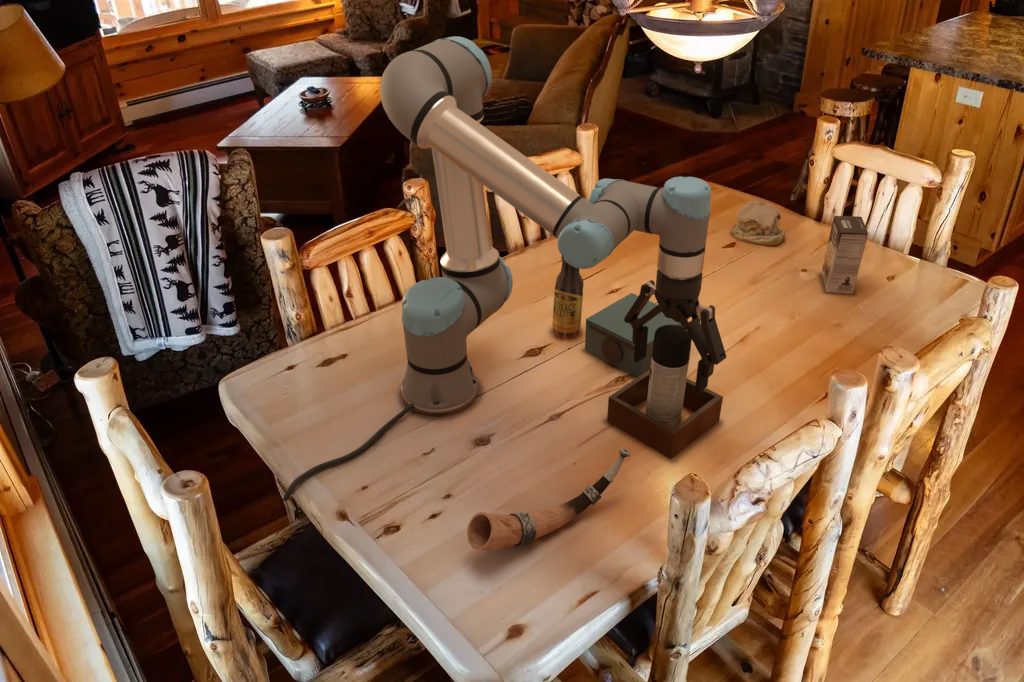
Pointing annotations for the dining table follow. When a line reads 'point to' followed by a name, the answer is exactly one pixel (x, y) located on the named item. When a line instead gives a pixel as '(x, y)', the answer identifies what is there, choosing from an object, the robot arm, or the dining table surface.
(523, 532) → the curved blowing horn
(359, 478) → the dining table surface
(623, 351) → the green block
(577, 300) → the sauce bottle
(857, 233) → the coffee box
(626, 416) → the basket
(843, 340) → the dining table surface
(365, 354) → the dining table surface
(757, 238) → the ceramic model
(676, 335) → the spray can
